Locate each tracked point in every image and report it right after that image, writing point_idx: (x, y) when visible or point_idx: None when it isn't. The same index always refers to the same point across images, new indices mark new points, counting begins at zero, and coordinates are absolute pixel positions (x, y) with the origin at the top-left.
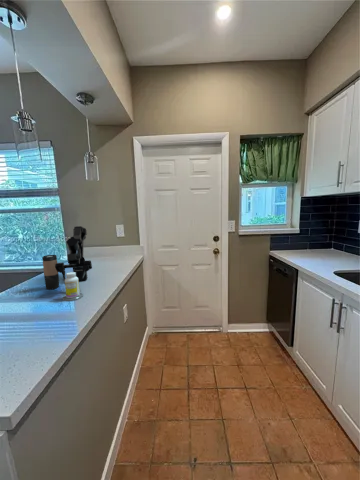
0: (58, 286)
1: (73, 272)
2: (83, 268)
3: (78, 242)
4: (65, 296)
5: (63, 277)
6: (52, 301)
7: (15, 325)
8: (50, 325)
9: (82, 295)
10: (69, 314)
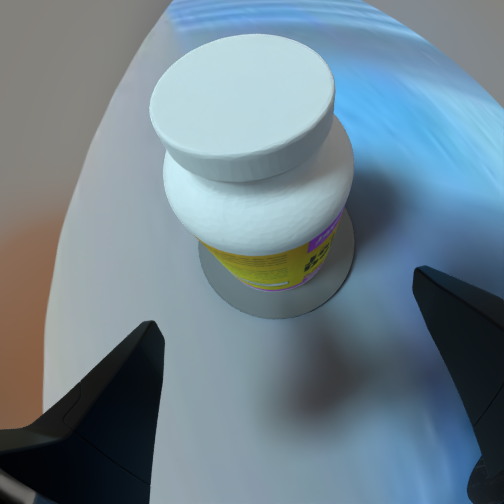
0: (472, 481)
1: (197, 121)
2: (55, 434)
3: None
4: (341, 244)
5: (445, 274)
6: (398, 186)
7: (371, 19)
8: (251, 11)
9: (201, 247)
10: None
